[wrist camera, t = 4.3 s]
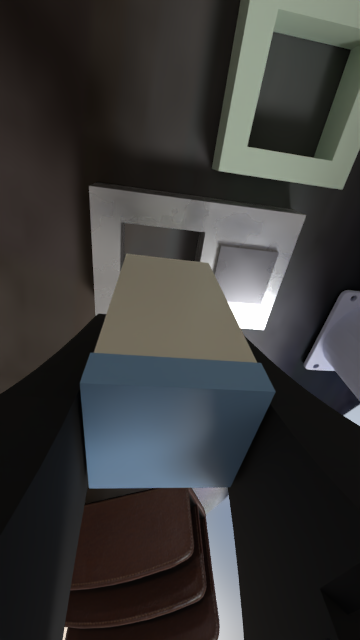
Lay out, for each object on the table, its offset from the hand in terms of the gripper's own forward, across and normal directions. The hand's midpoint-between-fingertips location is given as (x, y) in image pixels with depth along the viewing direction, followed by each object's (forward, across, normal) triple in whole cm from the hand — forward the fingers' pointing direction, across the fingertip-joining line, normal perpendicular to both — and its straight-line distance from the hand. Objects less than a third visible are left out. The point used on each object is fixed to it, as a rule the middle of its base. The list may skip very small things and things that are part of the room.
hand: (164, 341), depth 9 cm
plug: (+3, 0, 0) cm, 3 cm away
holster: (+10, -6, -9) cm, 14 cm away
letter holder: (+10, 0, +39) cm, 40 cm away
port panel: (+10, -2, 0) cm, 10 cm away
